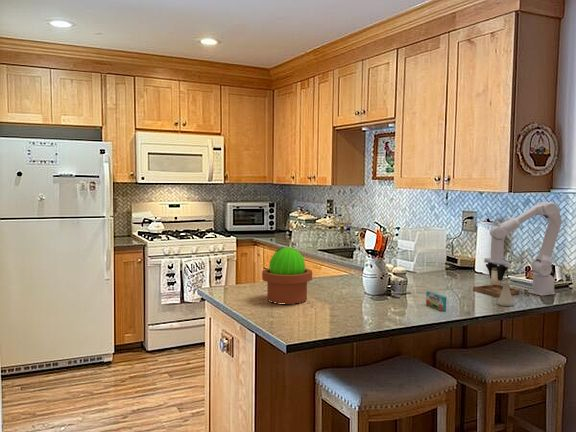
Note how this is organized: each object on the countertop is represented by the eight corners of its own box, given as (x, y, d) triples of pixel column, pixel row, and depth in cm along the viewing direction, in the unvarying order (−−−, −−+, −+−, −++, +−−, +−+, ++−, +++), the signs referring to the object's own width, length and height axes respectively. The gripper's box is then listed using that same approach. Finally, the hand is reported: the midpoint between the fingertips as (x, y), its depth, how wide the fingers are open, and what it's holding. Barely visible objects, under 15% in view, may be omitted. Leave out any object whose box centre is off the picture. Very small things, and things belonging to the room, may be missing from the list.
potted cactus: (321, 300, 234) (321, 245, 232) (288, 309, 217) (289, 250, 216) (285, 292, 248) (285, 241, 247) (252, 301, 232) (252, 246, 230)
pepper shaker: (496, 282, 252) (496, 266, 252) (502, 284, 248) (503, 268, 247) (489, 283, 250) (489, 267, 250) (495, 285, 246) (496, 268, 246)
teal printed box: (426, 304, 226) (426, 291, 225) (428, 304, 226) (429, 290, 226) (443, 311, 214) (443, 297, 214) (446, 311, 215) (446, 296, 214)
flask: (516, 307, 222) (517, 284, 221) (498, 306, 223) (499, 283, 222) (512, 303, 229) (513, 280, 228) (495, 302, 230) (495, 280, 229)
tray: (496, 288, 259) (496, 284, 259) (519, 294, 246) (519, 290, 246) (473, 290, 254) (473, 286, 253) (495, 297, 240) (495, 292, 240)
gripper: (479, 249, 253) (478, 277, 254) (502, 254, 240) (501, 282, 241) (490, 249, 256) (490, 276, 257) (513, 253, 243) (512, 281, 244)
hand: (496, 279), depth 249 cm, fingers closed on pepper shaker, 4 cm apart
